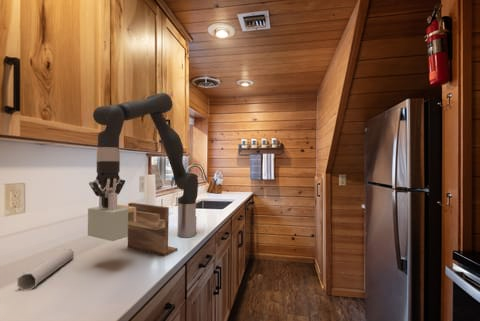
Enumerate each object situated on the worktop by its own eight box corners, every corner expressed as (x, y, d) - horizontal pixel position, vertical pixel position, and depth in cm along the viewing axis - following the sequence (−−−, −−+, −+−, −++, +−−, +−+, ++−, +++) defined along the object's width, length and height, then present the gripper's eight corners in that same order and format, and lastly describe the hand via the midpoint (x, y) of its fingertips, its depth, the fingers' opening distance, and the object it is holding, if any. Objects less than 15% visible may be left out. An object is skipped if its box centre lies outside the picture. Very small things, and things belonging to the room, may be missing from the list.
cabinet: (113, 228, 101) (113, 189, 101) (137, 233, 95) (138, 191, 95) (87, 235, 92) (88, 192, 92) (113, 241, 86) (113, 194, 86)
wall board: (141, 242, 120) (142, 201, 120) (177, 250, 110) (178, 205, 110) (118, 250, 108) (119, 204, 109) (156, 260, 99) (157, 209, 99)
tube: (60, 249, 99) (14, 277, 74) (74, 244, 100) (33, 270, 75) (64, 261, 99) (20, 293, 75) (78, 256, 100) (39, 287, 75)
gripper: (117, 160, 99) (117, 203, 99) (83, 159, 87) (82, 209, 87) (131, 160, 96) (130, 205, 96) (97, 160, 84) (96, 211, 84)
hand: (107, 207), depth 92 cm, fingers closed on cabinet, 1 cm apart
